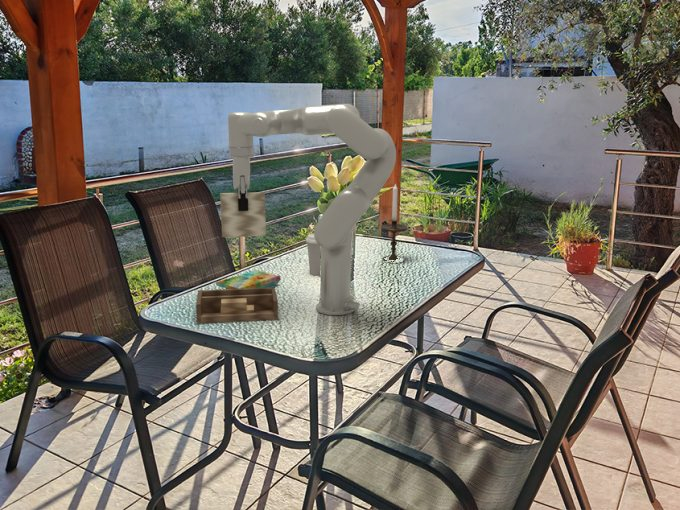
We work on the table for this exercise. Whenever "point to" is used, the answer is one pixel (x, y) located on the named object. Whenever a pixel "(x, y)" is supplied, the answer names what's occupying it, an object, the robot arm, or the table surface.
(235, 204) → the birch sheet
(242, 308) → the tan wooden block
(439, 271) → the table surface
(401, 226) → the candlestick
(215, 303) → the walnut rack
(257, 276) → the puzzle game
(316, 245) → the coffee cup
